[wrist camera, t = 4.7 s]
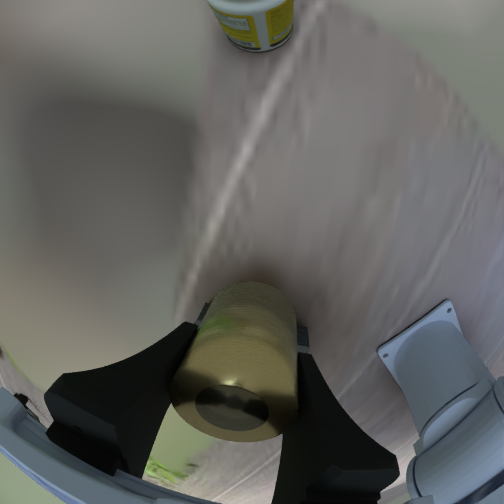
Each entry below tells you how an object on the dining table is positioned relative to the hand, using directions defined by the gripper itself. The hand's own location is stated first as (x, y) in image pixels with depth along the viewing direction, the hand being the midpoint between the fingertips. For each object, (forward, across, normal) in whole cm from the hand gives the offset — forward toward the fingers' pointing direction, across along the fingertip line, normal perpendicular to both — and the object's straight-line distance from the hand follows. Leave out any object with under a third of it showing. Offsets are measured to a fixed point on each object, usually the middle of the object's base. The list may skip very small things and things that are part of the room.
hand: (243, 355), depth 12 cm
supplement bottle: (+9, +5, -18) cm, 21 cm away
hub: (+2, 0, 0) cm, 2 cm away
